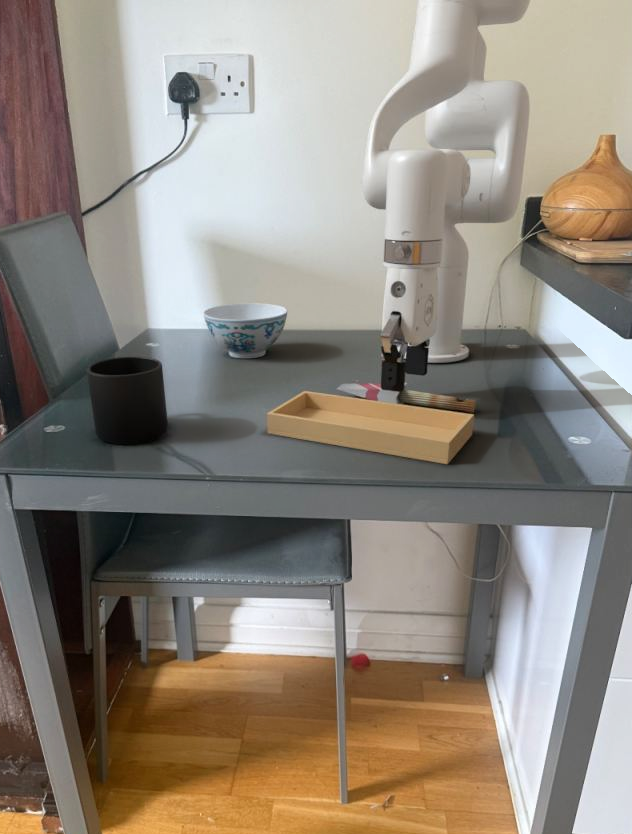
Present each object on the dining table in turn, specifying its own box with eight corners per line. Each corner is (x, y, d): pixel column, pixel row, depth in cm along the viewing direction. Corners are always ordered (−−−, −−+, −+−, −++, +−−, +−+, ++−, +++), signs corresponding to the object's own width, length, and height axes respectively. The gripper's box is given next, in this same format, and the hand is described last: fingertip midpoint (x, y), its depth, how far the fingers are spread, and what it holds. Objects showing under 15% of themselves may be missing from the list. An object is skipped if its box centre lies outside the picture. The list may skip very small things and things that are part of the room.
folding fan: (344, 373, 107) (478, 393, 100) (343, 390, 108) (475, 412, 101) (335, 380, 104) (472, 401, 97) (334, 398, 105) (469, 420, 98)
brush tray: (304, 409, 102) (304, 390, 101) (472, 435, 92) (474, 414, 91) (267, 433, 94) (266, 413, 92) (447, 464, 83) (449, 442, 82)
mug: (181, 415, 101) (175, 351, 97) (156, 446, 90) (149, 376, 86) (116, 414, 102) (108, 351, 98) (85, 444, 91) (74, 375, 87)
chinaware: (303, 349, 133) (303, 307, 130) (257, 368, 122) (255, 323, 118) (238, 340, 140) (236, 300, 137) (189, 357, 129) (186, 314, 126)
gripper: (418, 262, 85) (409, 401, 92) (458, 249, 99) (448, 371, 106) (360, 259, 88) (356, 393, 96) (407, 247, 102) (400, 366, 109)
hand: (404, 381), depth 101 cm, fingers open, 9 cm apart
